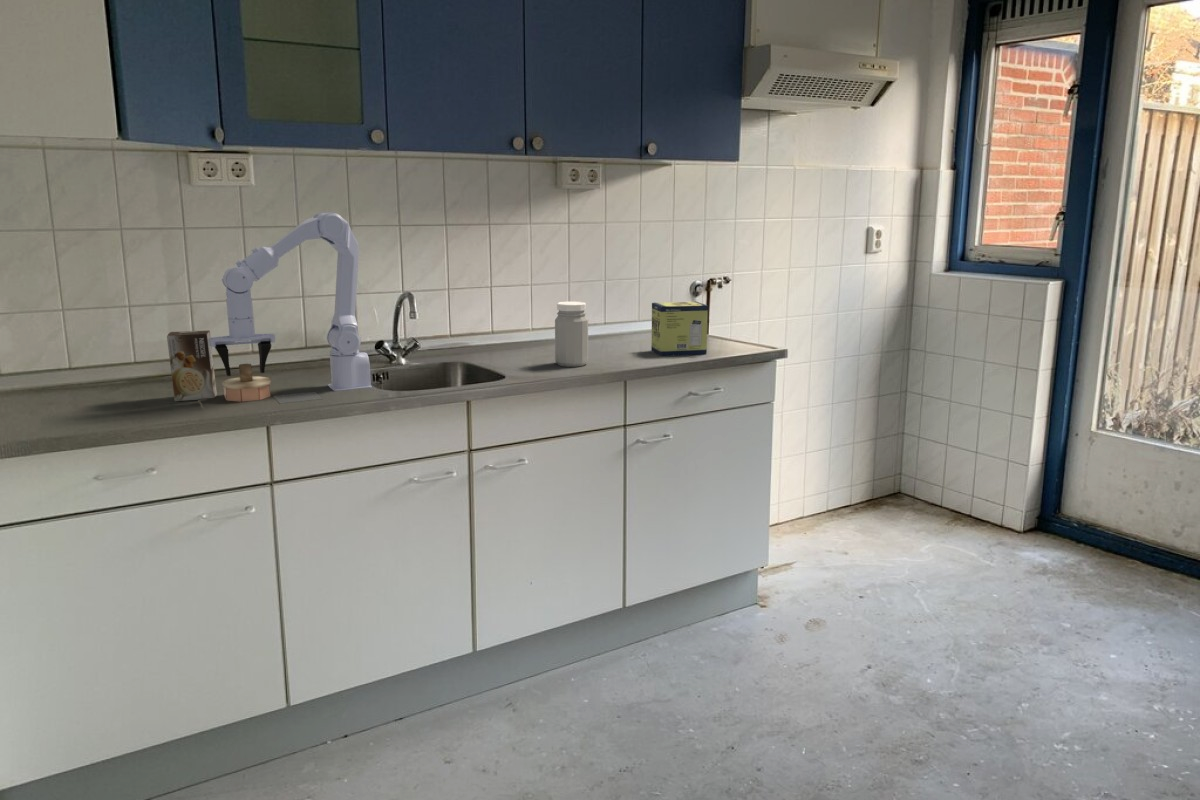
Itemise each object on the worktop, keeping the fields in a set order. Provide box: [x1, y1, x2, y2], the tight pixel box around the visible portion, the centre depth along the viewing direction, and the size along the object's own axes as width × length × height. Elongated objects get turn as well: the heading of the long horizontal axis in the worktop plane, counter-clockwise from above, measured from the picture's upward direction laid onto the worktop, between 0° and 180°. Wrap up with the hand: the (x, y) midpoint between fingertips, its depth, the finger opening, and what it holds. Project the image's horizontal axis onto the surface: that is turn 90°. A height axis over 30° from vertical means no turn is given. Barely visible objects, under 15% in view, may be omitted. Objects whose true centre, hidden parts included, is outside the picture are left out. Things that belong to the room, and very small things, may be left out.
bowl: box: [223, 383, 271, 403], centre depth 217 cm, size 10×10×4 cm
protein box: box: [650, 300, 709, 357], centre depth 281 cm, size 10×16×16 cm
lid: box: [221, 363, 272, 389], centre depth 216 cm, size 11×11×5 cm
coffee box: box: [166, 329, 218, 402], centre depth 216 cm, size 9×6×16 cm
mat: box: [272, 391, 324, 405], centre depth 217 cm, size 10×9×1 cm
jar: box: [554, 300, 589, 368], centre depth 260 cm, size 10×10×18 cm
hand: (245, 373), depth 216 cm, fingers open, 7 cm apart
